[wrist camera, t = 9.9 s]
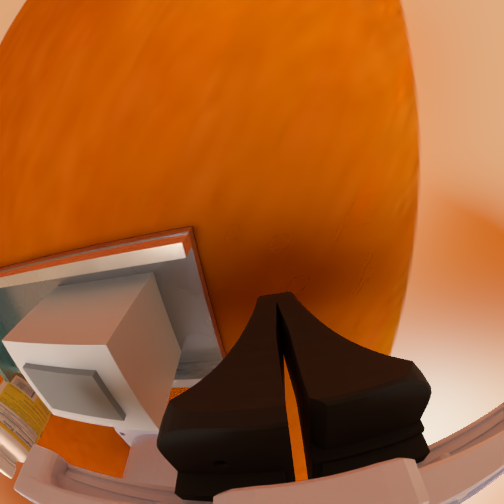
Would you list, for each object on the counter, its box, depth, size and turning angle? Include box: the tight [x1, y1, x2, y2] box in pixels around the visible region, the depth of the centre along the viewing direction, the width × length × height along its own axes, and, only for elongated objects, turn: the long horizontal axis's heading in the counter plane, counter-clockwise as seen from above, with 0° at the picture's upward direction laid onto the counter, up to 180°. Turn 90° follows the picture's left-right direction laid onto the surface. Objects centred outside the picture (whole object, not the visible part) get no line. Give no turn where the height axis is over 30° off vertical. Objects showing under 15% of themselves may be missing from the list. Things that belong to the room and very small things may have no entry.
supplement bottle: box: [0, 373, 52, 479], centre depth 12 cm, size 5×5×10 cm
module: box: [2, 272, 181, 432], centre depth 10 cm, size 4×6×5 cm
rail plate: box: [0, 226, 226, 388], centre depth 12 cm, size 17×8×3 cm, turn 99°
